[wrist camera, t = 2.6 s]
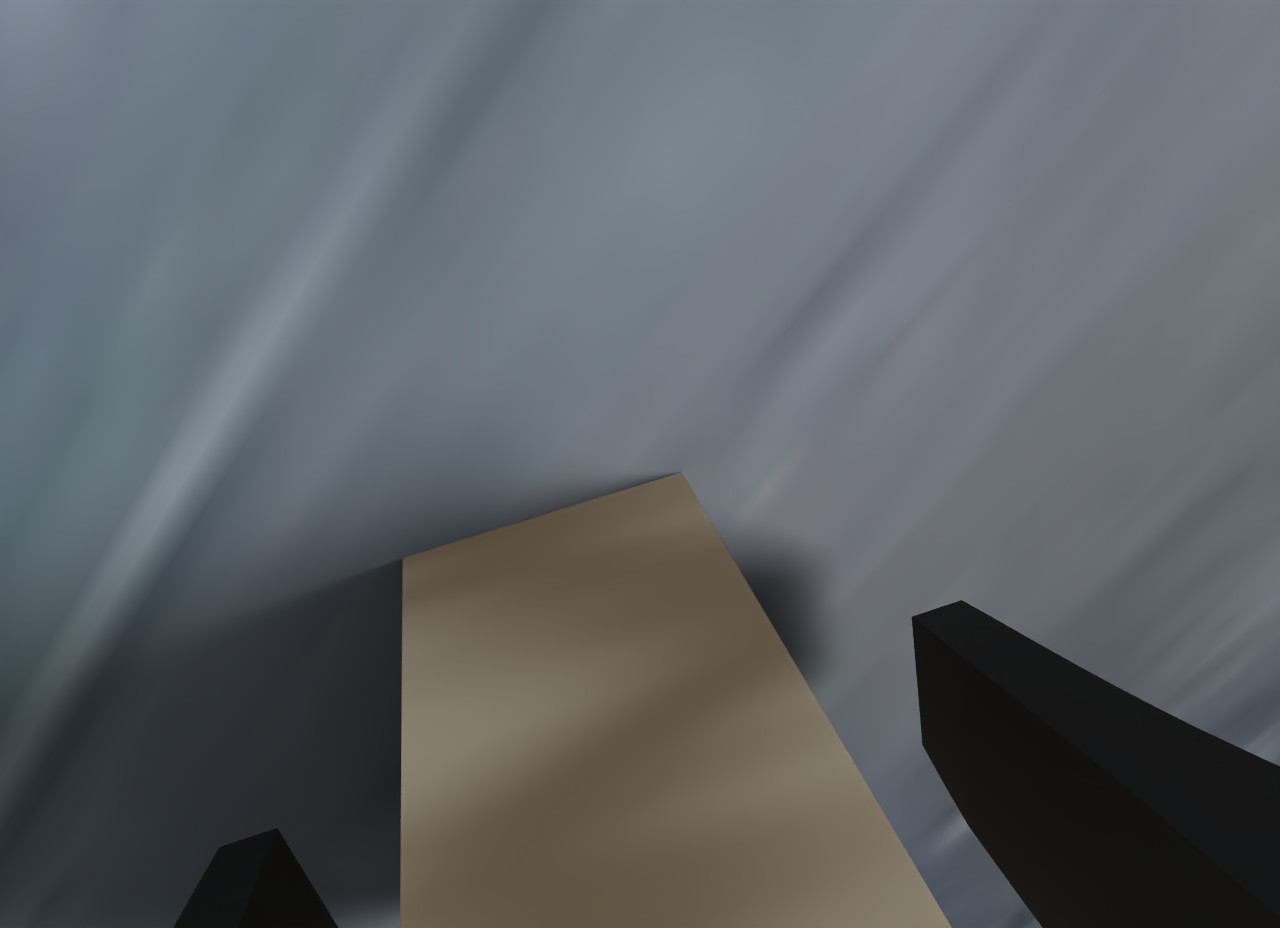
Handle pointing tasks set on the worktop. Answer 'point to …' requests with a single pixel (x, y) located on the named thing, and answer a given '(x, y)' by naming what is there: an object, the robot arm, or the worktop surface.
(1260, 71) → the worktop surface
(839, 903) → the block
